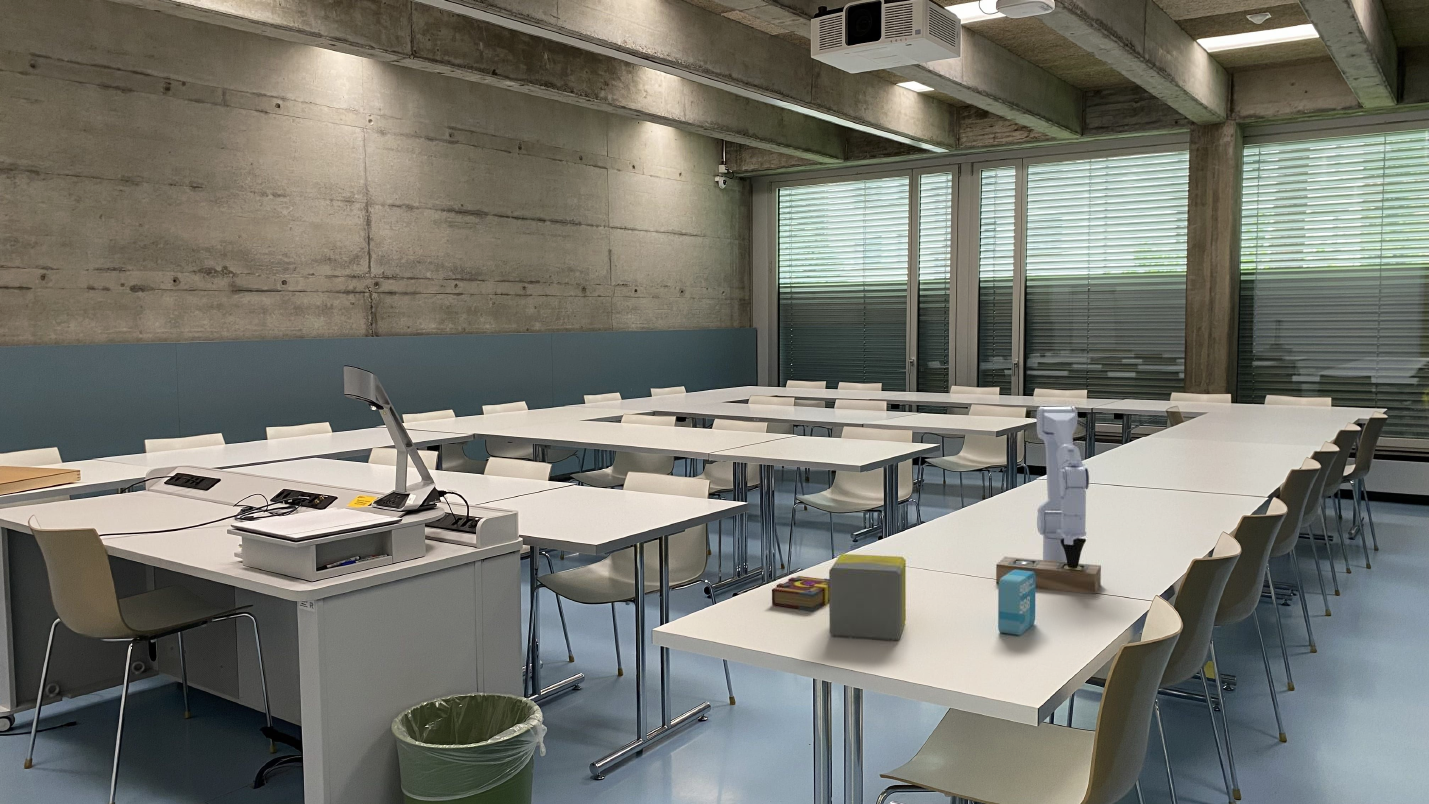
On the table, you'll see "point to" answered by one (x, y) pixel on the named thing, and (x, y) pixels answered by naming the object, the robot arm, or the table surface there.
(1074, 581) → the wooden block
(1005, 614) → the data package
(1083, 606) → the table surface
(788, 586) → the decorative book
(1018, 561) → the steel peg
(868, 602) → the yellow-topped grey cube
